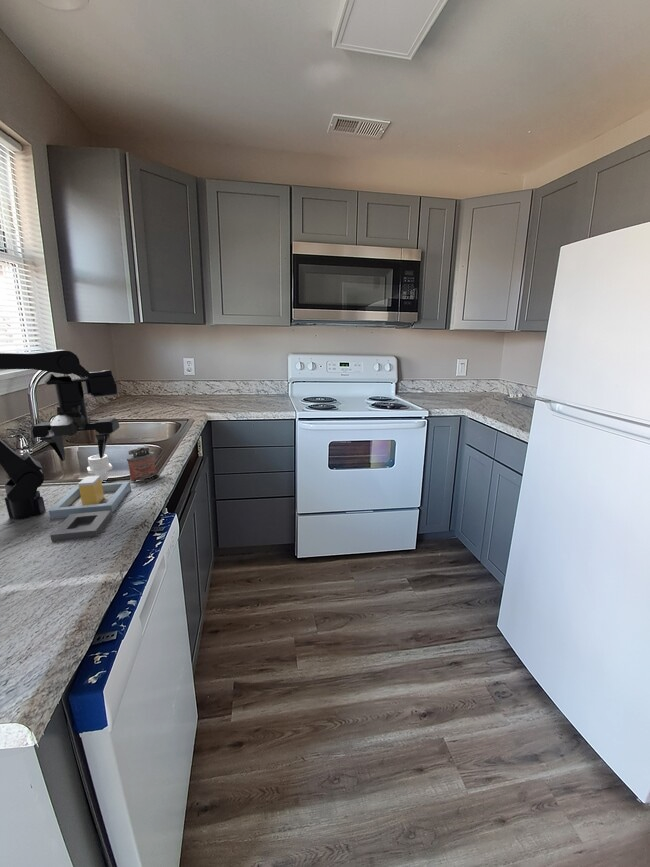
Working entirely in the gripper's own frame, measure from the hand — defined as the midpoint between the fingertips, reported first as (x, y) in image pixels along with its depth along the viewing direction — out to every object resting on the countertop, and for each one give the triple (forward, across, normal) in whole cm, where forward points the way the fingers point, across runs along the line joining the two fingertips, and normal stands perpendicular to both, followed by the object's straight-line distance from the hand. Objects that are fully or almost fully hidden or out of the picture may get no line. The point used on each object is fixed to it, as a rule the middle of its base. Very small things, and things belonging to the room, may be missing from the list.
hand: (82, 459), depth 105 cm
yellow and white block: (+11, +2, -3) cm, 12 cm away
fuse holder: (+12, +5, -18) cm, 22 cm away
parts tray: (+12, +2, -3) cm, 13 cm away
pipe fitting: (+12, -2, +15) cm, 19 cm away
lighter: (+12, +10, +15) cm, 22 cm away
